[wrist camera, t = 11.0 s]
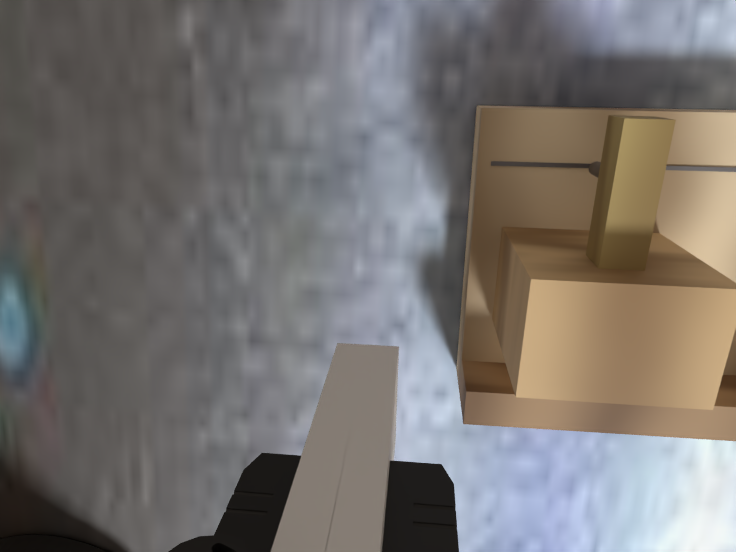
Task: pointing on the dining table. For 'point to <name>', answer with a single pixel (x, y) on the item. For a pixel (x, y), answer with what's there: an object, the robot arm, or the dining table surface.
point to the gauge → (614, 293)
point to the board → (574, 211)
